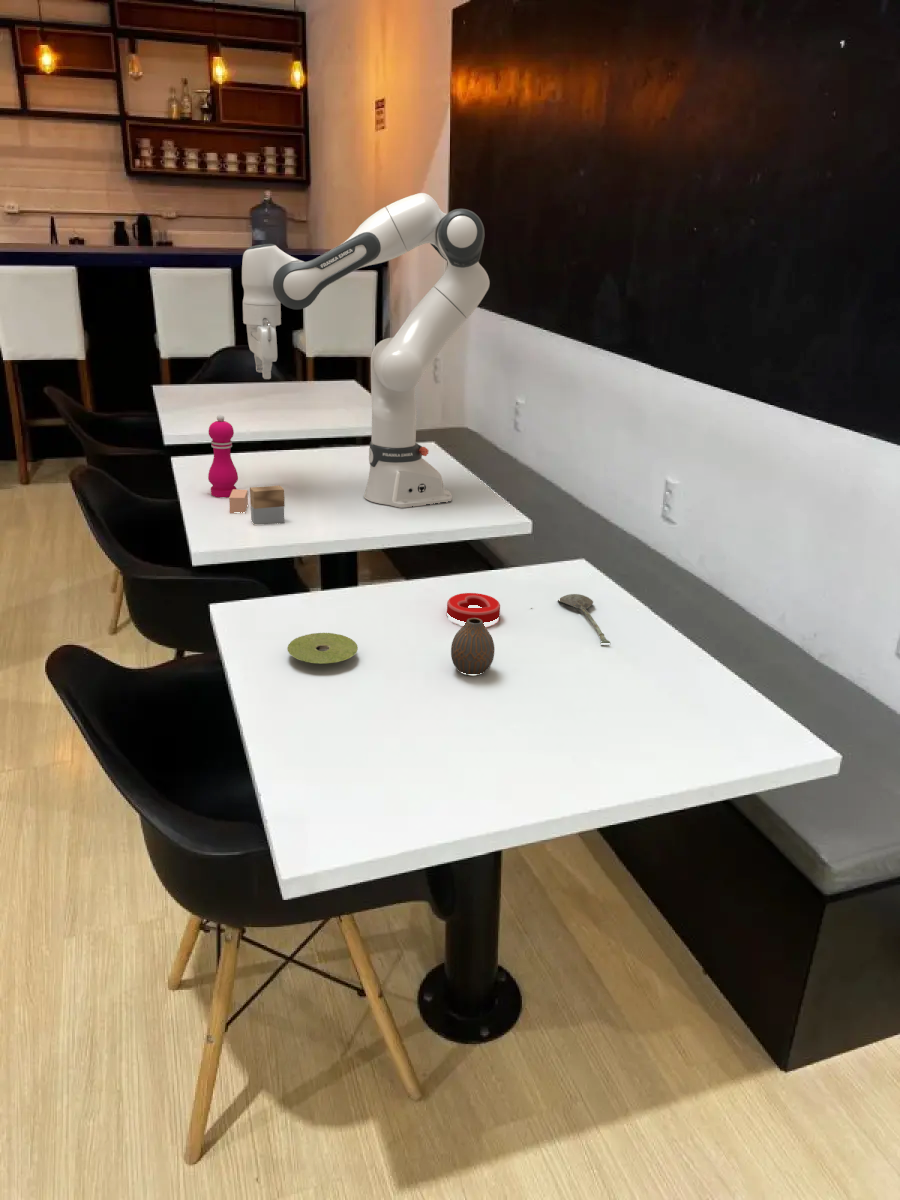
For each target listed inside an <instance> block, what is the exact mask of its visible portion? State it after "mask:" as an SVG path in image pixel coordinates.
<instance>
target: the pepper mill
mask: <svg viewBox="0 0 900 1200" xmlns="http://www.w3.org/2000/svg"><path fill="white" fill-rule="evenodd" d="M216 420H217V421H213V422H212V423H211V424H210V425H209V427H208V436H209V437H210V439H211V441H210V442H211V448H213V459H212V462H211V465H210V467H209V470H208V474H207V475H208V476H207V477H208V479H207V480H208V482H209V483H210V484H211V485H212V486H211V487H210V494H211V495H210V496H212V497H214V496H215V498H220V497H226V498H229V497H230V495H231V492H232V490H233V489H237V487H236V486H235V485H236V483H237V482H238V480H239V476H238V475H239V474H238V471H237V469H236V466H235V464H234V462H233V459H232V457H231V455H232V454H231V448H232V447H233V441H232V438H233V437H234V433H235V430H234V427H233V425H232V424H231V423H230V422H228V421H225V416H224V415H223V414H218V415H217V417H216Z"/></svg>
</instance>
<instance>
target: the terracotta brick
mask: <svg viewBox="0 0 900 1200" xmlns="http://www.w3.org/2000/svg"><path fill="white" fill-rule="evenodd" d="M248 490H249V489H241V488H240V489H237V488H236V489H233V490H232V492H231V495H230V497H228V500H229V513H230V514H235V513H234V512H240V513H241V512H242V513H243V512H245V511H246V512H247V510H246V508H248V507H247V505H248V506H249V496H248V495H249V491H248ZM246 512H245V513H246Z"/></svg>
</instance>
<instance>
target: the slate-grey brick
mask: <svg viewBox="0 0 900 1200" xmlns="http://www.w3.org/2000/svg"><path fill="white" fill-rule="evenodd" d="M251 520H252V521H251ZM250 521H251V523H252V522H253V523H254V524H264V525H275V524H277V523H278V524H279V523H280V524H285V506H283V507H270V508H258V509H254V508H253V507H252V506H251V505H250ZM253 523H252V524H253ZM254 524H253V525H254ZM278 524H277V525H278Z"/></svg>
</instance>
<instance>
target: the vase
mask: <svg viewBox="0 0 900 1200" xmlns="http://www.w3.org/2000/svg"><path fill="white" fill-rule="evenodd" d="M450 656H451V661H452V664H453V666H454V667H455V669H456V670H457V671H458V670H459V671H458V672H459V673H461V672H463V673H466V674H480V673H482V674H484V673H485V672H486V671H487V670H489V668H490V667H491V666H492V664H493V661H494V658H495V642H494V640H493V636H492V634H491V633H490V632H489V630H488V629H487V627H485V626H484V624H483V622H482V620H481V619H478V618H470V619H468V620H467V622H466V623H465V625H464V626H461V628H460V629H459V630H458V631H457V632H456V633H455V635H454V636H453V640H452V642H451V646H450ZM483 672H484V673H483Z"/></svg>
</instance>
